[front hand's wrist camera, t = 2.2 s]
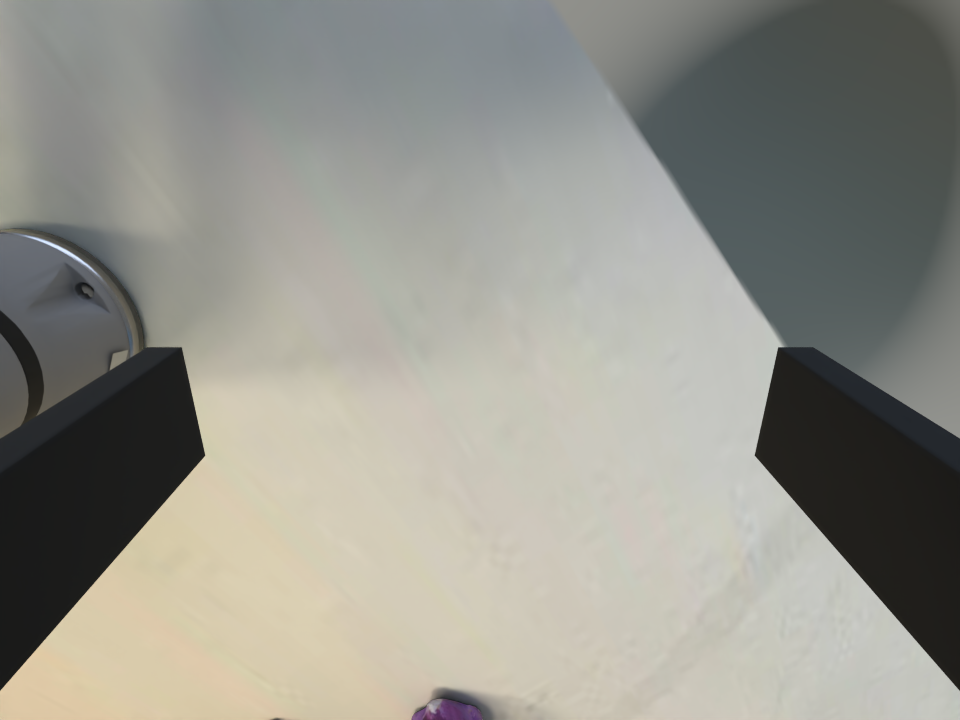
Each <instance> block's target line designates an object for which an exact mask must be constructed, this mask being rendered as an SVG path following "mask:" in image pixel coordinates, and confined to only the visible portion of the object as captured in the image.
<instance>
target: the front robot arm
mask: <svg viewBox="0 0 960 720" xmlns="http://www.w3.org/2000/svg"><path fill="white" fill-rule="evenodd" d="M143 347H144V344H143V332H142V327H141V323H140V319H139V316H138V314H137V311H136V309H135V306H134V304H133V302H132V300H131V299H130V297H129V295H128V293H127V292H126V290H125V289H124V287H123V286H122V284H121V283H120V282H119V281H118V280H117V278H116V277H115V276H114V275H113V274H112V273H111V272H110V271H109V270H108V269H107V268H106V267H105V266H104V265H103V264H102V263H101V262H100V261H99V260H97V259H96V258H95V257H93V256H92V255H91V254H89V253H88V252H86V251H85V250H83V249H82V248H80V247H78V246H77V245H75V244H73V243H71V242H69V241H67V240H65V239H62V238H60V237H57V236H54V235H52V234H48V233H44V232H40V231H35V230H28V229H6V230H0V690H1V689H2V688H3V687H4V686H5V685H6V683H7V682H8V681H9V680H10V679H11V678H12V677H13V675H14V674H15V673H16V672H17V671H18V670H19V669H20V667H21V666H22V665H23V664H24V663H25V662H26V661H27V659H28V658H29V657H30V656H31V655H32V654H33V652H34V651H35V650H36V649H37V648H38V647H39V646H40V644H41V643H42V642H43V641H44V640H45V639H46V638H47V636H48V635H49V634H50V633H51V632H52V631H53V630H54V628H55V627H56V626H57V625H58V624H59V623H60V622H61V620H62V619H63V618H64V617H65V616H66V615H67V613H68V612H69V611H70V610H71V609H72V608H73V607H74V605H75V604H76V603H77V602H78V601H79V600H80V599H81V597H82V596H83V595H84V594H85V593H86V592H87V591H88V589H89V588H90V587H91V586H92V585H93V584H94V583H95V581H96V580H97V579H98V578H99V577H100V576H101V574H102V573H103V572H104V571H105V570H106V569H107V568H108V566H109V565H110V564H111V563H112V562H113V561H114V560H115V558H116V557H117V556H118V555H119V554H120V553H121V552H122V550H123V549H124V548H125V547H126V546H127V545H128V544H129V542H130V541H131V540H132V539H133V538H134V537H135V535H136V534H137V533H138V532H139V531H140V530H141V529H142V527H143V526H144V525H145V524H146V523H147V522H148V521H149V519H150V518H151V517H152V516H153V515H154V514H155V513H156V511H157V510H158V509H159V508H160V507H161V506H162V505H163V503H164V502H165V501H166V500H167V499H168V498H169V496H170V495H171V494H172V493H173V492H174V491H175V490H176V488H177V487H178V486H179V485H180V484H181V483H182V482H183V480H184V479H185V478H186V477H187V476H188V475H189V474H190V472H191V471H192V470H193V469H194V468H195V467H196V466H197V464H198V463H199V462H200V461H201V460H202V459H203V457H204V456H205V452H204V448H203V443H202V439H201V434H200V429H199V425H198V420H197V416H196V411H195V406H194V402H193V397H192V393H191V388H190V383H189V379H188V374H187V370H186V365H185V360H184V356H183V351H182V347H147V348H145V349H144V350H143ZM755 456H756V457H757V459H758V460H759V461H760V462H761V463H762V464H763V466H764V467H765V468H766V469H767V470H768V471H769V472H770V474H771V475H772V476H773V477H774V478H775V479H776V480H777V482H778V483H779V484H780V485H781V486H782V487H783V488H784V490H785V491H786V492H787V493H788V494H789V495H790V496H791V498H792V499H793V500H794V501H795V502H796V503H797V505H798V506H799V507H800V508H801V509H802V510H803V511H804V513H805V514H806V515H807V516H808V517H809V518H810V519H811V521H812V522H813V523H814V524H815V525H816V526H817V527H818V529H819V530H820V531H821V532H822V533H823V534H824V535H825V537H826V538H827V539H828V540H829V541H830V542H831V544H832V545H833V546H834V547H835V548H836V549H837V550H838V552H839V553H840V554H841V555H842V556H843V557H844V558H845V560H846V561H847V562H848V563H849V564H850V565H851V566H852V568H853V569H854V570H855V571H856V572H857V573H858V574H859V576H860V577H861V578H862V579H863V580H864V581H865V583H866V584H867V585H868V586H869V587H870V588H871V589H872V591H873V592H874V593H875V594H876V595H877V596H878V597H879V599H880V600H881V601H882V602H883V603H884V604H885V605H886V607H887V608H888V609H889V610H890V611H891V612H892V613H893V615H894V616H895V617H896V618H897V619H898V620H899V622H900V623H901V624H902V625H903V626H904V627H905V628H906V630H907V631H908V632H909V633H910V634H911V635H912V636H913V638H914V639H915V640H916V641H917V642H918V643H919V644H920V646H921V647H922V648H923V649H924V650H925V651H926V652H927V654H928V655H929V656H930V657H931V658H932V659H933V661H934V662H935V663H936V664H937V665H938V666H939V667H940V669H941V670H942V671H943V672H944V673H945V674H946V675H947V677H948V678H949V679H950V680H951V681H952V682H953V683H954V685H955V686H956V687H957V688H958V689H959V690H960V438H958V437H956V436H955V435H953V434H952V433H950V432H948V431H947V430H945V429H944V428H942V427H940V426H939V425H937V424H935V423H934V422H932V421H931V420H929V419H927V418H926V417H924V416H923V415H921V414H919V413H918V412H916V411H915V410H913V409H911V408H910V407H908V406H907V405H905V404H903V403H902V402H900V401H898V400H897V399H895V398H894V397H892V396H890V395H889V394H887V393H886V392H884V391H882V390H881V389H879V388H878V387H876V386H874V385H873V384H871V383H869V382H868V381H866V380H865V379H863V378H861V377H860V376H858V375H857V374H855V373H853V372H852V371H850V370H849V369H847V368H845V367H844V366H842V365H841V364H839V363H837V362H836V361H834V360H833V359H831V358H829V357H828V356H826V355H824V354H823V353H821V352H820V351H818V350H816V349H815V348H813V347H778V351H777V356H776V360H775V365H774V370H773V374H772V379H771V383H770V388H769V393H768V397H767V402H766V406H765V411H764V416H763V420H762V425H761V429H760V434H759V439H758V443H757V448H756V452H755Z"/></svg>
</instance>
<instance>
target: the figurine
mask: <svg viewBox="0 0 960 720" xmlns="http://www.w3.org/2000/svg"><path fill="white" fill-rule="evenodd" d="M412 720H483V718H482V715H481V712H480V710H479V709H477V707H475V706H471V705H465V704H463V703H460V702H457V701H453V700H448V699H435V700H431V701H430V702H429V703H428V704H427V707H426V708H424V709H422V710H420V711H418V712H416V713H415V714H414V715H413V716H412Z"/></svg>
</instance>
